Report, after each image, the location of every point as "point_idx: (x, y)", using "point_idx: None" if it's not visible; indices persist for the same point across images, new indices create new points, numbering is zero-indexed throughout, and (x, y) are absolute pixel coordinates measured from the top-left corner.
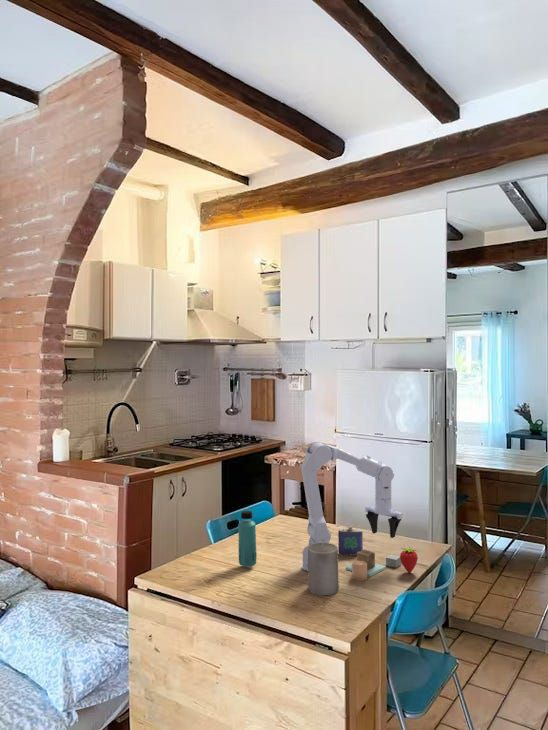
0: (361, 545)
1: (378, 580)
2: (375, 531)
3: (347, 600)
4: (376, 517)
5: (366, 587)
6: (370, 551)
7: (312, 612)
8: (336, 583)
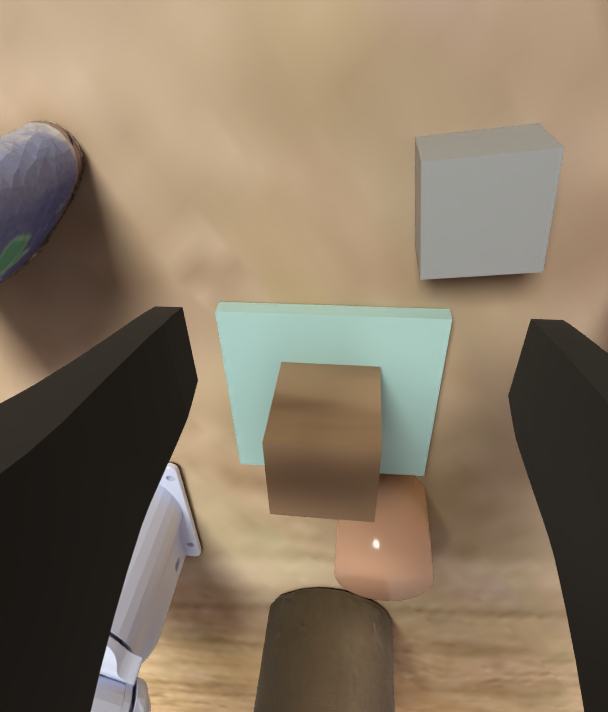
0: (33, 190)
1: (493, 475)
2: (183, 358)
3: (463, 638)
4: (32, 539)
5: (474, 551)
6: (336, 452)
7: (410, 698)
8: (392, 662)
